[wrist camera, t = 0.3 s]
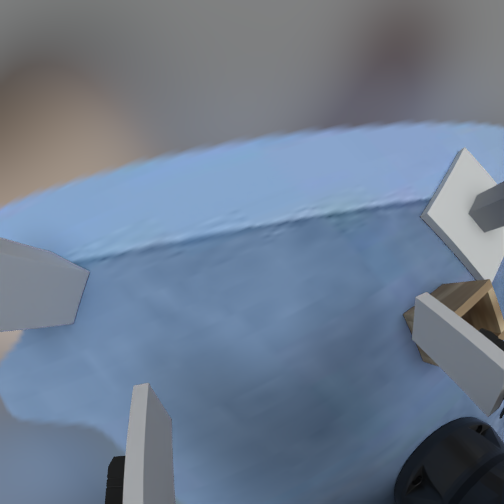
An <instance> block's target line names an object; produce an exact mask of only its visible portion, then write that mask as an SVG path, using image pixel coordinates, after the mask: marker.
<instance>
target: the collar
mask: <svg viewBox="0 0 504 504" xmlns="http://www.w3.org/2000/svg"><path fill="white" fill-rule="evenodd" d="M430 295H431V296H433V297H434V298H436V299H437V300H438V301H440V302H441V303H442V304H444V305H445V306H446V307H448V308H449V309H450V310H452V311H453V312H454V313H456V314H457V315H458V316H460V317H461V318H462V319H463V320H465V321H466V322H467V323H469V324H470V325H471V326H473V327H474V328H475V329H476V330H480V329H481V328H483V329H486V330H488V331H491V332H492V333H494V334H495V335H496V336H498V337H499V339H501V340H504V320H503V316H502V313H501V310H500V307H499V304H498V301H497V298H496V295H495V292H494V289H493V286H492V284H491V281H490V279H486V280H477V281H468V282H459V283H449V284H442V285H441V286H440V287H438V288H437V289H436V290H434V291H433V292H432V293H431V294H430ZM414 310H415V306H414V307H412V308H411V309H409V310H408V311H407V312H405V313H404V314H403V316H404V318H405V320H406V322H407V324H408V327H409V329H410V331H411V333H412V332H413V322H414ZM416 345H417V344H416ZM417 347H418V350H419V352H420V354H421V357H422V359H423V361H424V362H427V363H430V364H433V365H436V366H438V365H437V364H436V363H435V362H434V361H433V360H432V359H431V358H430V357H429V356H428V355H427V354H426V353H425V352H424V351H423V350H422V349H421V348H420V347H419V346H418V345H417Z"/></svg>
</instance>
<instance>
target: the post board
mask: <svg viewBox="0 0 504 504" xmlns="http://www.w3.org/2000/svg"><path fill="white" fill-rule="evenodd" d="M420 217H421V218H422V219H423V220H424V221H425V222H426V223H427V224H428V225H429V226H430V228H431V229H432V230H433V231H434V232H435V233H436V234H437V235H438V236H439V237H440V238H441V239H442V240H443V242H444V243H445V244H446V245H447V246H448V247H449V248H450V249H451V251H452V252H453V253H454V254H455V255H456V256H457V257H458V259H459V260H460V261H461V262H462V263H463V264H464V266H465V267H466V268H467V269H468V270H469V272H470V273H471V274H472V275H473V277H474V278H475V279H476V280H486V279H490V281H491V283H492V281H493V279H494V277H495V275H496V273H497V271H498V268H499V266H500V264H501V261H502V259H503V257H504V182H502V183H500V184H498V185H497V184H496V182H495V181H494V180H493V179H492V177H491V176H490V175H489V174H488V173H487V171H486V170H485V169H484V168H483V167H482V166H481V164H480V163H479V162H478V161H477V160H476V159H475V158H474V157H473V155H472V154H471V153H470V152H469V151H468V150H467V149H466V148H465V147H464V148H463V149H461V150H460V151H459V152H458V154H457V155H456V157H455V159H454V161H453V163H452V165H451V166H450V168H449V170H448V172H447V173H446V175H445V177H444V179H443V180H442V182H441V184H440V185H439V187H438V189H437V190H436V192H435V194H434V195H433V197H432V199H431V200H430V202H429V204H428V205H427V207H426V208H425V210H424V212H423V213H422V215H421V216H420Z"/></svg>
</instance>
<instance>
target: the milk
mask: <svg viewBox="0 0 504 504" xmlns="http://www.w3.org/2000/svg"><path fill="white" fill-rule="evenodd" d="M89 273H90V272H89V271H88V270H86V269H84V268H82V267H80V266H78V265H76V264H74V263H72V262H70V261H68V260H66V259H64V258H62V257H60V256H58V255H57V254H55V253H53V252H51V251H47V250H43V249H40V248H36V247H32V246H29V245H25V244H21V243H18V242H14V241H11V240H7V239H4V238H0V332H3V331H13V330H24V329H33V328H43V327H51V326H60V325H68V324H73V323H74V320H75V317H76V313H77V310H78V307H79V303H80V300H81V297H82V294H83V291H84V287H85V284H86V281H87V278H88V276H89Z"/></svg>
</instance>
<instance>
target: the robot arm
mask: <svg viewBox="0 0 504 504" xmlns="http://www.w3.org/2000/svg"><path fill="white" fill-rule="evenodd" d="M412 340H413V341H414V342H415V343H416V344H417V345H418V346H419V347H420V348H421V349H422V350H423V351H424V352H425V353H426V354H427V355H428V356H429V357H430V358H431V359H432V360H433V361H434V362H435V363H436V364H437V365H438V366H439V367H440V368H441V369H442V370H443V371H444V372H445V373H446V374H447V375H448V376H449V377H450V378H451V379H452V380H453V381H454V382H455V383H456V384H457V385H458V386H459V387H460V388H461V389H462V390H463V391H464V392H465V393H466V394H467V395H468V396H469V397H470V398H471V400H472V401H473V402H474V403H475V404H476V405H477V406H478V407H479V408H480V409H481V410H482V411H483V412H484V413H485V414H486V416H487V417H489V416H490V415H491V414H492V413H493V412H495V411H496V410H497V409H498V408H499V407H500V405H501V403H502V401H503V399H504V341H503V340H501V339H499V337H498V336H496V335H495V334H494V333H492V332H491V331H488V330H486V329H483V328H481V329H480V330H476V329H475V328H474V327H473V326H471V325H470V324H469V323H467V322H466V321H465V320H463V319H462V318H461V317H460V316H458V315H457V314H456V313H454V312H453V311H452V310H450V309H449V308H448V307H446V306H445V305H444V304H442V303H441V302H440V301H438V300H437V299H436V298H434V297H433V296H431V295H430V294H429V293H427V292H425V293H423V294H421V295H419V296H417V297H415V310H414V322H413V332H412ZM503 415H504V408H503V410H502V412H501V414H500V418H502V416H503ZM107 478H108V480H107V488H106V498H105V504H176V503H175V490H174V473H173V451H172V419H171V418H170V416H169V415H168V413H167V412H166V410H165V408H164V407H163V405H162V404H161V402H160V401H159V399H158V397H157V396H156V394H155V392H154V391H153V389H152V388H151V386H150V384H149V383H145V384H140V385H135V386H133V393H132V401H131V409H130V417H129V425H128V435H127V445H126V456H118V457H114V458H113V459H112V461H111V463H110V465H109V467H108V475H107ZM395 501H396V504H504V443H503V441H502V440H501V439H500V437H499V436H498V434H497V433H496V432H495V430H494V429H493V428H492V427H491V426H490V425H489V424H487V423H485V422H483V421H481V420H479V419H477V418H472V417H466V418H461V419H457V420H455V421H452V422H450V423H448V424H446V425H445V426H443V427H441V428H440V429H439V430H437V431H436V432H434V433H433V434H432V435H431V436H430V437H428V438H427V439H426V440H425V441H424V442H423V443H422V444H421V445H420V446H419V447H418V448H417V449H416V451H415V452H414V453H413V454H412V456H411V457H410V458H409V460H408V461H407V463H406V464H405V466H404V467H403V469H402V471H401V473H400V475H399V477H398V480H397V483H396V486H395Z"/></svg>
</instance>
